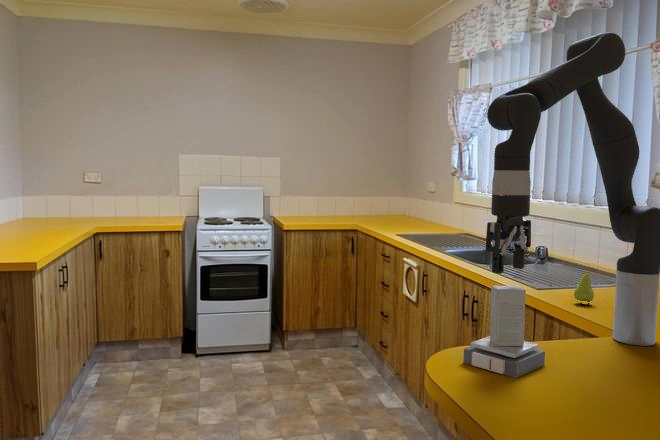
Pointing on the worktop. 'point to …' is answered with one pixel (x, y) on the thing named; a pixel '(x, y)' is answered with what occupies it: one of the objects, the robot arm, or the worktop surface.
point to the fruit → (584, 289)
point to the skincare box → (507, 315)
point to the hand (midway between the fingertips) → (508, 270)
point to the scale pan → (504, 347)
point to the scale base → (504, 361)
